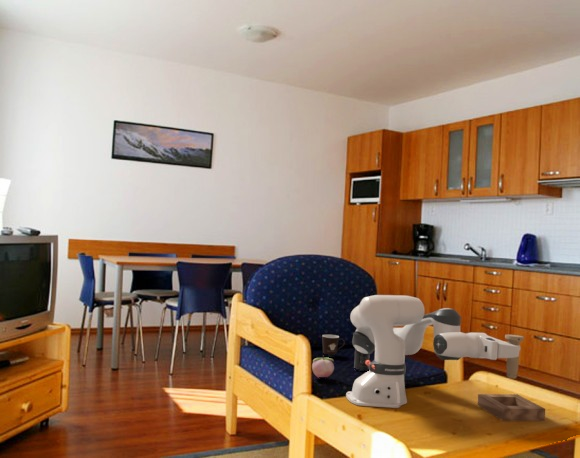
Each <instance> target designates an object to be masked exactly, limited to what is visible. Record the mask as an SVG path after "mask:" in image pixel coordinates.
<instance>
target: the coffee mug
mask: <svg viewBox="0 0 580 458" xmlns="http://www.w3.org/2000/svg"><path fill="white" fill-rule="evenodd" d="M340 341H343V344H342V345H341V346H339V347H338V345H339V342H340ZM321 342H322V354H323V353H324V354H328V355H335V354H336V355H337V353H338V350H340V349H342V348H343V347H345V344H346V341H345V338H340V336H339V335H336V334H322V336H321Z"/></svg>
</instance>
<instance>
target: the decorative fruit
mask: <svg viewBox="0 0 580 458" xmlns="http://www.w3.org/2000/svg"><path fill="white" fill-rule="evenodd" d="M334 362H335V361H334V359H333V358H329V357H324V355H323V354H322V357H316V358H314V359H313V360H312V365H311V368H312V369H311V370H312V372H313V374H314V375H315V377H317V378H319V377H327V378H328V377H330V376H331V375H332V374H333V373H334V370H335V366H334Z"/></svg>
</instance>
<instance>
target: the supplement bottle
mask: <svg viewBox="0 0 580 458" xmlns="http://www.w3.org/2000/svg"><path fill="white" fill-rule="evenodd" d="M370 356H371V354H364V353H361V352H359V351H358V350H356V349H355V350H354V359H353V360H354V361H353V362H354V363H353V369H354V368H356V369H360V370H368V369H369V366H367V365H366V364H365V361H366V360H369V361H370Z"/></svg>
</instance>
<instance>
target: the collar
mask: <svg viewBox="0 0 580 458" xmlns="http://www.w3.org/2000/svg"><path fill="white" fill-rule="evenodd" d="M478 405H479V407H480V408H481V409H483V408H484V409H483V410H485V411H486V410H487V412H488V413H489V414H491V415H493V416H494V417H496V418H498V419H499V420H500V421H502V422H503V421H506V422H507V421H509V422H510V421H512V422H514V421H516V422H517V421H525V422H526V421H545V420H546V408H544V407H543V406H541V405H539V404H537V403H535V402H533V401H531V400H529V399H527V398H525V397H523V396H521V394H520V395H519V394H516V393H515V394H511V393H510V394H507V393H506V394H503V393H499V394H498V393H497V394H496V393H495V394H491V393H489V394H488V393H487V394H486V393H484V394H483V393H481V394H480V393H479V394H477V406H478Z"/></svg>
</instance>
